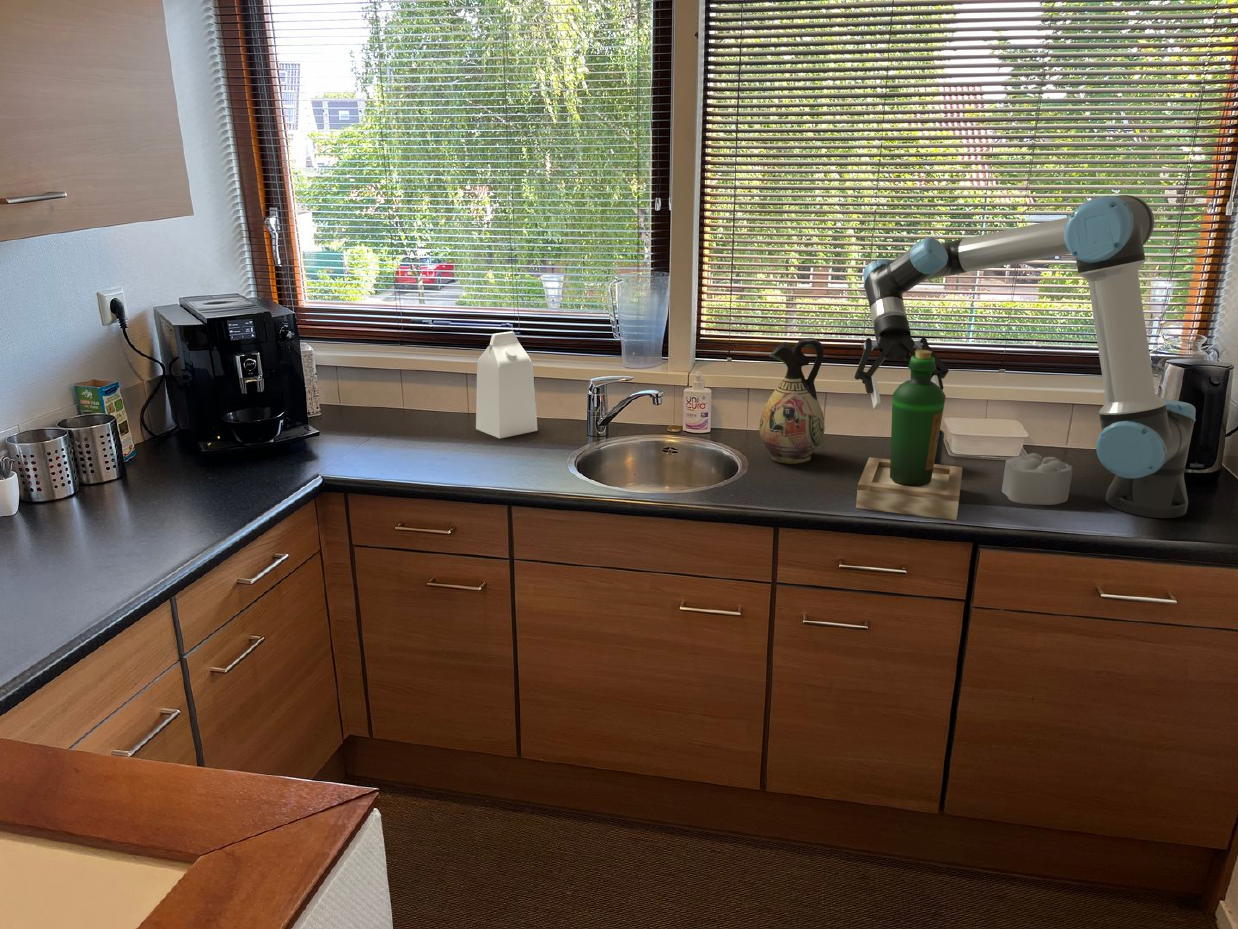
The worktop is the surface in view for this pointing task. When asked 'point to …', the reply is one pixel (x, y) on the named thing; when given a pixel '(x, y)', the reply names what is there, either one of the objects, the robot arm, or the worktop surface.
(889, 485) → the rectangular wooden box
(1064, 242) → the robot arm
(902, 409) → the bottle
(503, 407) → the milk
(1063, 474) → the lumpy-topped squat cylinder
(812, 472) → the worktop surface
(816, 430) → the ceramic jug
